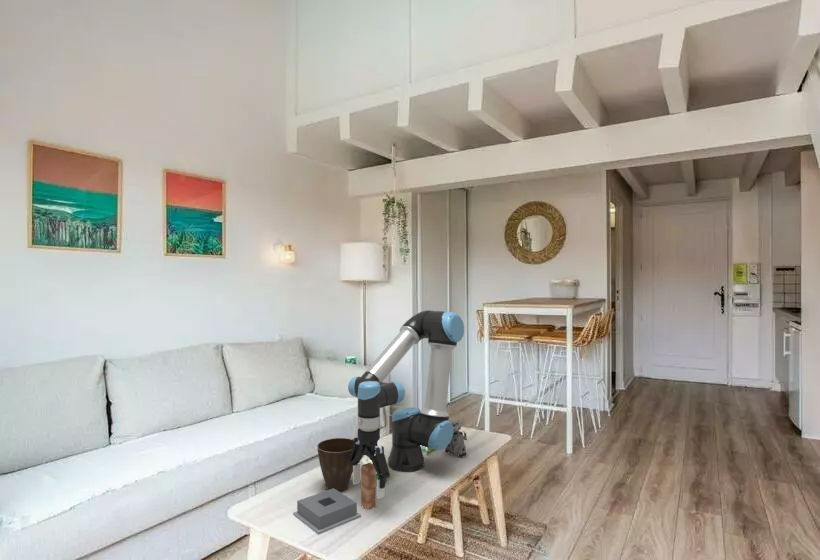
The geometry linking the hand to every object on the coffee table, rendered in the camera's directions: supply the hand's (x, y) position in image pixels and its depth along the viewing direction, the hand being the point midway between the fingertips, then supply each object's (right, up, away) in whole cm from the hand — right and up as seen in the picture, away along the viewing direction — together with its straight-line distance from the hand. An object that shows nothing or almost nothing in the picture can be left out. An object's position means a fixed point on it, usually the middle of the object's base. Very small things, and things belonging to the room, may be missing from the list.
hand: (368, 490), depth 163 cm
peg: (0, -6, 0) cm, 6 cm away
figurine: (+33, -5, +46) cm, 57 cm away
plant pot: (-13, -6, +14) cm, 20 cm away
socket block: (-13, -6, -6) cm, 15 cm away
